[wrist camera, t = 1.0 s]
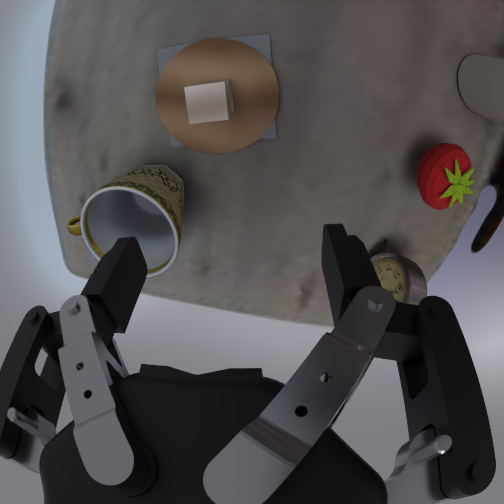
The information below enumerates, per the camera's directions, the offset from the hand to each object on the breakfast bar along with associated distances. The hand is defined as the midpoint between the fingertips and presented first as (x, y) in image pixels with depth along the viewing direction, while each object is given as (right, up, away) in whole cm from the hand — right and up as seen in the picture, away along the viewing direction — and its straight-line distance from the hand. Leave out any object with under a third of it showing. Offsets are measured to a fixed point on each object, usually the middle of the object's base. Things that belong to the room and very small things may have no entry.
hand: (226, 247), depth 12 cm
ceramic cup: (-11, +7, +20) cm, 24 cm away
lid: (-2, +15, +13) cm, 20 cm away
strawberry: (+21, +11, +16) cm, 29 cm away
